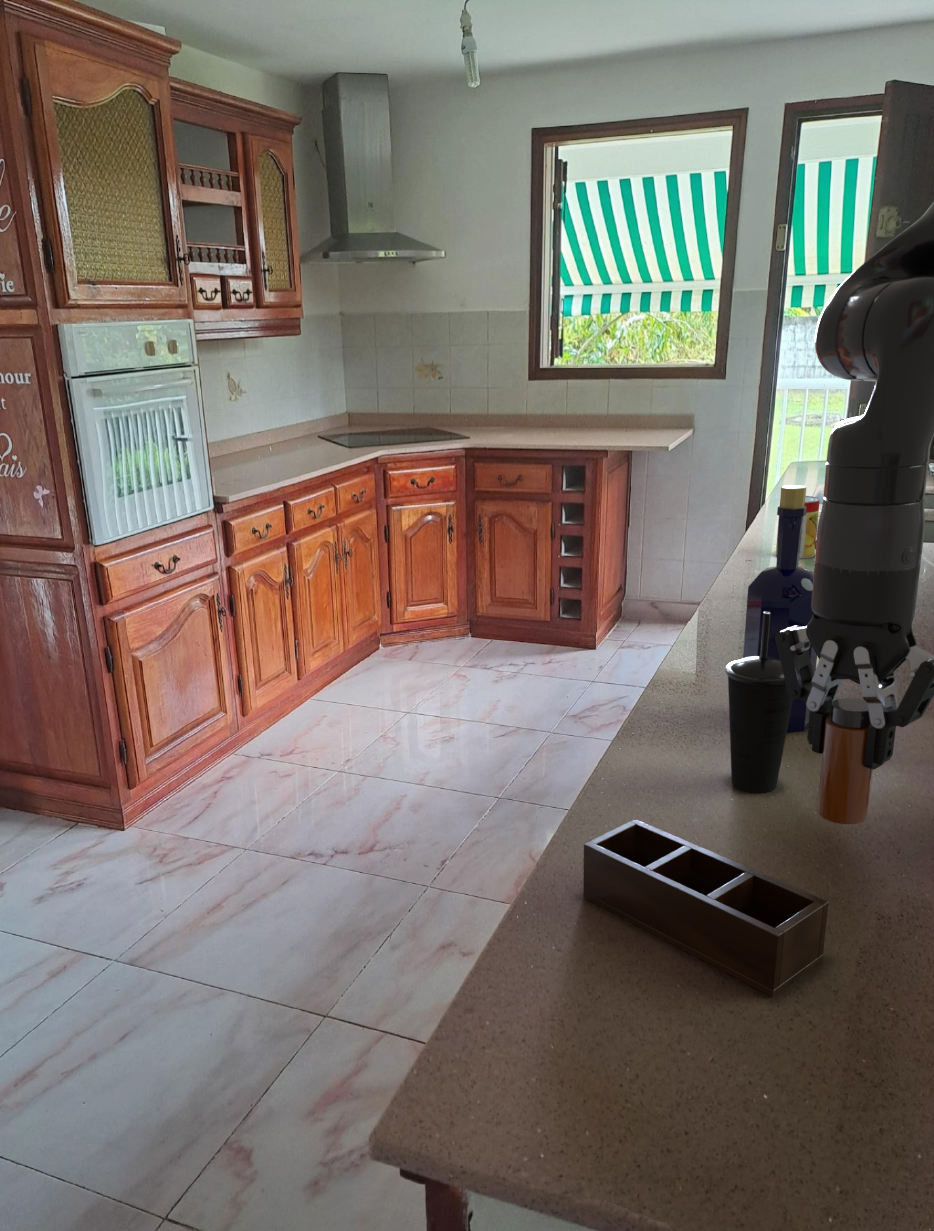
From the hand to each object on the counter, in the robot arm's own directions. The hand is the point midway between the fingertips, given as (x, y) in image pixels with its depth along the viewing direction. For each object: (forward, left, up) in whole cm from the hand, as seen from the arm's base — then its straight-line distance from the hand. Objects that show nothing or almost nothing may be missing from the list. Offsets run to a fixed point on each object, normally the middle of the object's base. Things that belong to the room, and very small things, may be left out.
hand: (847, 756), depth 83 cm
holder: (+11, -6, -15) cm, 19 cm away
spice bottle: (0, 0, -5) cm, 5 cm away
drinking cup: (-17, -19, -15) cm, 30 cm away
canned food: (-120, -78, -15) cm, 144 cm away
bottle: (-35, -28, -15) cm, 47 cm away
